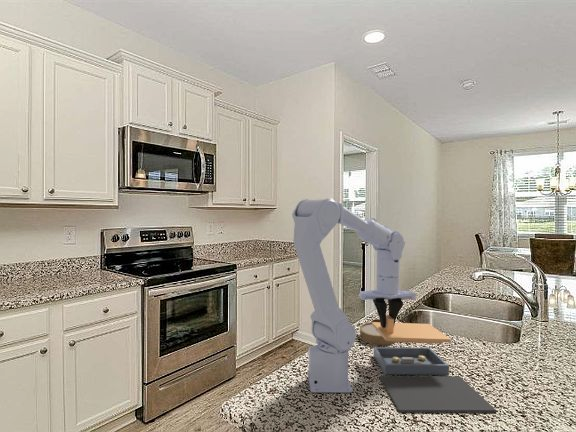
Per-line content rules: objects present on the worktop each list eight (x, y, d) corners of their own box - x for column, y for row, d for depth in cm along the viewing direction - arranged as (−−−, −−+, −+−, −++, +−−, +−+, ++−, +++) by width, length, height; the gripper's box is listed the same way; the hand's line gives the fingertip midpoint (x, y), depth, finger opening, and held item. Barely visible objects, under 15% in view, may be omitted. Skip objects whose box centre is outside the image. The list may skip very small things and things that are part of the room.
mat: (399, 412, 68) (399, 409, 68) (379, 378, 82) (379, 376, 82) (496, 412, 68) (496, 410, 68) (459, 378, 82) (460, 376, 82)
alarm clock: (352, 330, 107) (375, 312, 118) (353, 344, 108) (376, 325, 119) (385, 339, 100) (405, 319, 110) (386, 355, 100) (406, 333, 111)
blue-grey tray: (385, 375, 83) (385, 365, 83) (373, 356, 94) (373, 347, 94) (448, 375, 84) (449, 365, 84) (429, 356, 95) (429, 347, 95)
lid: (385, 343, 83) (386, 323, 83) (371, 327, 94) (372, 309, 94) (450, 345, 84) (451, 325, 84) (428, 329, 95) (429, 311, 95)
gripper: (365, 278, 84) (364, 331, 84) (421, 278, 85) (420, 331, 85) (358, 273, 91) (357, 322, 91) (409, 273, 92) (409, 322, 92)
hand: (387, 326), depth 89 cm, fingers closed on lid
